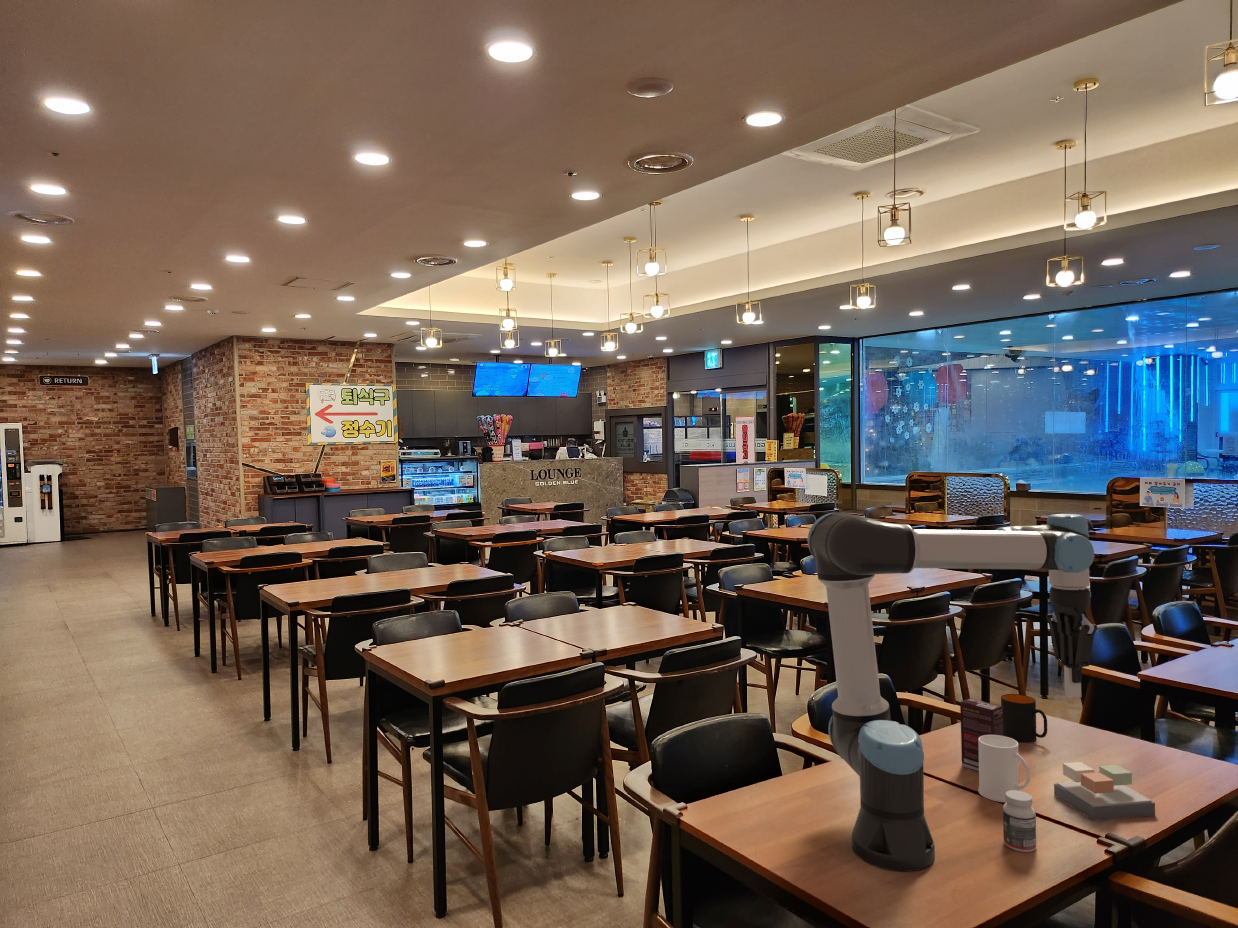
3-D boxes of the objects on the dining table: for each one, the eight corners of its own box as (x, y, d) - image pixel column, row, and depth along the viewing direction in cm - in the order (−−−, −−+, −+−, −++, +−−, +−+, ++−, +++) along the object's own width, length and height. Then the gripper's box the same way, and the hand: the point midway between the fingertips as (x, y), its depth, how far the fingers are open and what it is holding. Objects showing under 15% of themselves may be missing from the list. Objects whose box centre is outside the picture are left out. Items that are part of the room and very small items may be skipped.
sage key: (1113, 785, 165) (1113, 773, 165) (1099, 777, 169) (1099, 766, 169) (1131, 784, 165) (1131, 772, 165) (1117, 776, 169) (1116, 764, 169)
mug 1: (1037, 749, 198) (1037, 709, 198) (994, 735, 208) (994, 697, 208) (1056, 742, 202) (1056, 703, 202) (1014, 729, 213) (1013, 691, 212)
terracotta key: (1095, 793, 161) (1095, 781, 161) (1080, 784, 165) (1080, 773, 165) (1113, 791, 162) (1113, 780, 162) (1099, 783, 166) (1098, 771, 166)
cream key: (1076, 782, 167) (1076, 770, 167) (1063, 774, 171) (1062, 763, 171) (1094, 780, 167) (1094, 769, 167) (1080, 773, 171) (1080, 761, 171)
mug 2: (1042, 804, 168) (1041, 749, 167) (1012, 811, 164) (1011, 755, 164) (998, 783, 179) (997, 731, 178) (969, 789, 176) (968, 737, 175)
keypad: (1093, 820, 160) (1093, 805, 160) (1054, 795, 172) (1053, 781, 172) (1155, 815, 161) (1154, 800, 161) (1112, 790, 173) (1111, 777, 173)
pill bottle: (1004, 835, 154) (1003, 786, 154) (1036, 842, 152) (1036, 792, 151) (1002, 848, 149) (1001, 797, 149) (1035, 855, 147) (1034, 803, 147)
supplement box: (1005, 771, 185) (1004, 705, 185) (994, 777, 182) (993, 710, 182) (971, 760, 192) (969, 697, 192) (960, 765, 189) (959, 701, 189)
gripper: (1108, 590, 159) (1112, 704, 160) (1064, 580, 172) (1068, 686, 173) (1074, 592, 158) (1078, 707, 159) (1033, 582, 171) (1037, 688, 172)
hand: (1073, 696), depth 166 cm, fingers closed
